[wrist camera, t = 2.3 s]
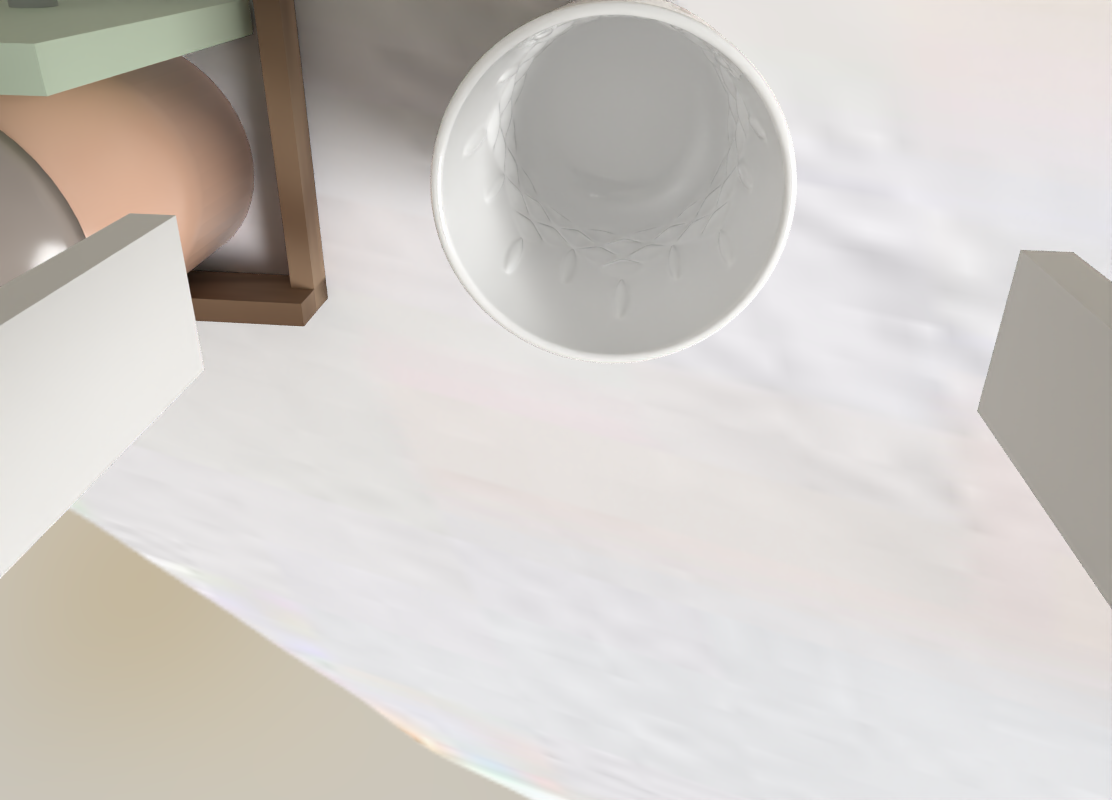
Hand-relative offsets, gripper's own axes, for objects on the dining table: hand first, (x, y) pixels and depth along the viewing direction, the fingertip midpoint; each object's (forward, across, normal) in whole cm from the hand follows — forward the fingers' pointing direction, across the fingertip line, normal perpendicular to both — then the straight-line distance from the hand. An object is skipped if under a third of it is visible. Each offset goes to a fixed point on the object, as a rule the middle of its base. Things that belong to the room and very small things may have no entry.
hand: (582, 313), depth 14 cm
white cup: (+16, 0, 0) cm, 16 cm away
